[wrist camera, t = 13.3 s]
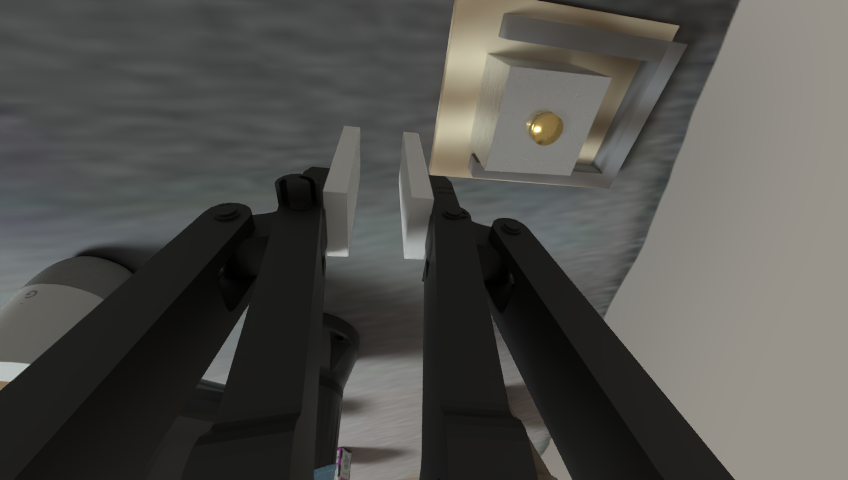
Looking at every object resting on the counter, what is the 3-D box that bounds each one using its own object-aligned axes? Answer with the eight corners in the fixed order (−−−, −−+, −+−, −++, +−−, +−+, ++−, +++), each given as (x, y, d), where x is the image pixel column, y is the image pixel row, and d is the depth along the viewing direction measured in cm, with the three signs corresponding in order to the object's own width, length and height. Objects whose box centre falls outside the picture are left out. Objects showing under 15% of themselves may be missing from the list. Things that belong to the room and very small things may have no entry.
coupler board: (590, 183, 38) (606, 198, 35) (428, 169, 35) (432, 185, 32) (669, 25, 28) (701, 27, 25) (456, -13, 25) (465, -15, 22)
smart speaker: (89, 302, 42) (-17, 411, 31) (38, 250, 36) (-114, 359, 25) (164, 298, 43) (87, 402, 32) (126, 246, 37) (16, 350, 26)
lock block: (541, 148, 33) (574, 179, 27) (469, 143, 32) (487, 174, 26) (571, 63, 28) (618, 79, 23) (487, 53, 27) (514, 68, 21)
